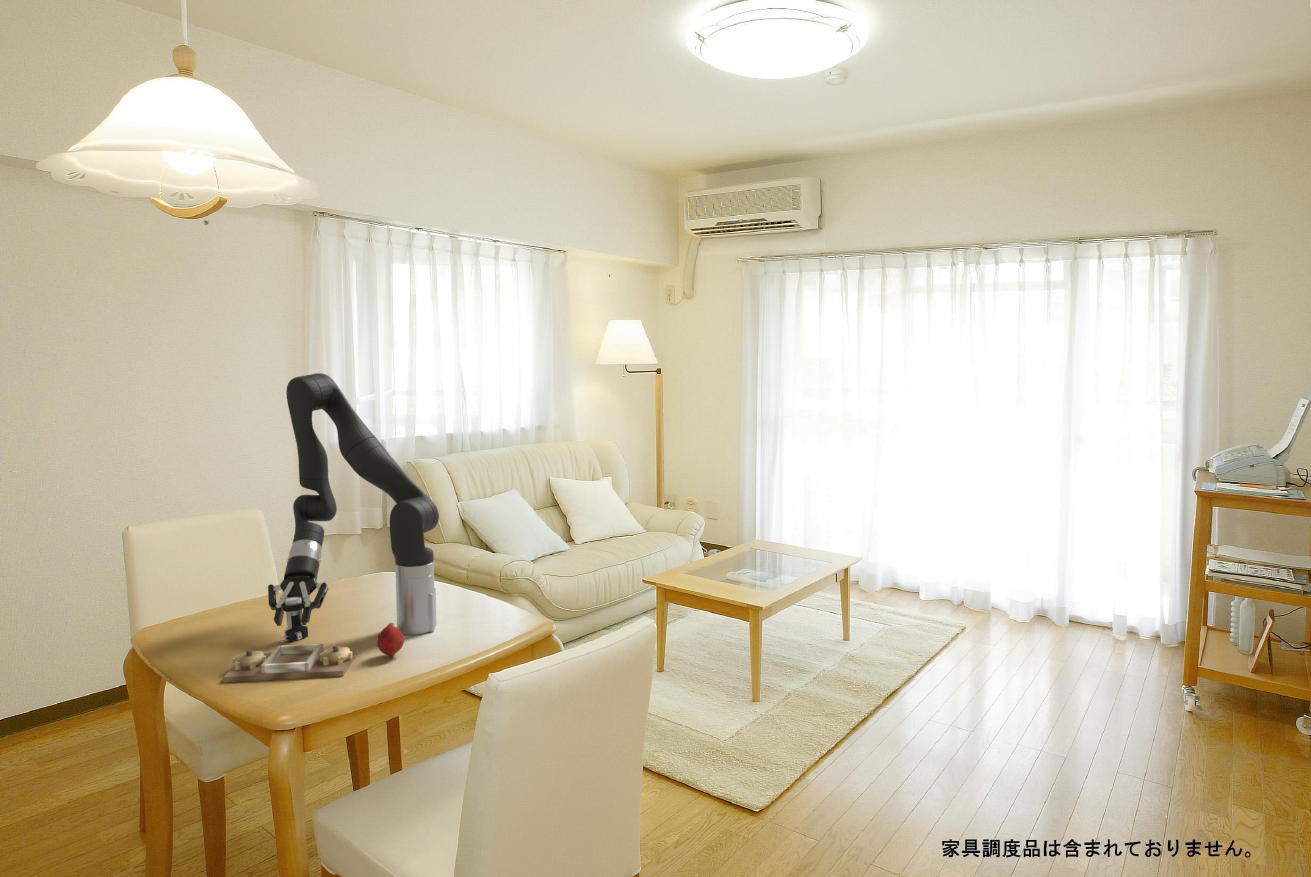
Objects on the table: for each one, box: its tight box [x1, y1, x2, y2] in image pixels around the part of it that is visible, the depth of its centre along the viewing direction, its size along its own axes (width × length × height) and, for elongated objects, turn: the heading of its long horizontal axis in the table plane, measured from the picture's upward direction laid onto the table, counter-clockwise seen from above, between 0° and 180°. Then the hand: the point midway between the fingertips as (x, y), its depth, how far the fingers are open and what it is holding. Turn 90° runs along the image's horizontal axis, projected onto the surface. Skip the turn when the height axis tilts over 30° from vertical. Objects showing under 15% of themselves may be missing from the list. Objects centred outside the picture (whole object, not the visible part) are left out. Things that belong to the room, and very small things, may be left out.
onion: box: [376, 621, 405, 658], centre depth 175 cm, size 6×6×8 cm
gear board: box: [222, 643, 358, 684], centre depth 169 cm, size 25×13×4 cm, turn 99°
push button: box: [280, 597, 309, 643], centre depth 185 cm, size 7×5×10 cm
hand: (291, 623), depth 183 cm, fingers closed on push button, 5 cm apart
